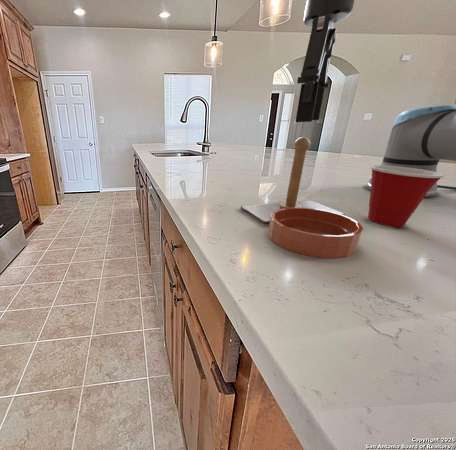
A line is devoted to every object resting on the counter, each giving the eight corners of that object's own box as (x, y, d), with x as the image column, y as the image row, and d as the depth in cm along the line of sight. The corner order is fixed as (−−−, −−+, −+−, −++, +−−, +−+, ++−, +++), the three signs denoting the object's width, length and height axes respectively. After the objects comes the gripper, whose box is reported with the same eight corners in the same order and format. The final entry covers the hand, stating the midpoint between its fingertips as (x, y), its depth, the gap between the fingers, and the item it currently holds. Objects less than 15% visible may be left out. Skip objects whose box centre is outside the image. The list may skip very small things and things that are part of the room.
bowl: (313, 224, 54) (318, 205, 52) (377, 256, 41) (385, 231, 39) (254, 230, 52) (256, 210, 50) (300, 265, 39) (306, 240, 37)
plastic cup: (437, 235, 47) (465, 173, 42) (372, 232, 49) (392, 172, 44) (397, 215, 57) (417, 163, 52) (345, 213, 59) (359, 163, 54)
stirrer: (291, 205, 62) (305, 136, 56) (305, 212, 58) (321, 137, 51) (274, 207, 61) (286, 137, 55) (286, 213, 57) (300, 138, 51)
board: (309, 204, 66) (310, 200, 66) (344, 218, 56) (345, 213, 56) (240, 210, 64) (240, 206, 63) (263, 226, 54) (264, 221, 53)
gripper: (314, 18, 55) (297, 120, 63) (296, -29, 36) (275, 123, 45) (356, 8, 51) (332, 118, 59) (359, -51, 32) (324, 121, 41)
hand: (308, 121), depth 52 cm, fingers open, 13 cm apart
